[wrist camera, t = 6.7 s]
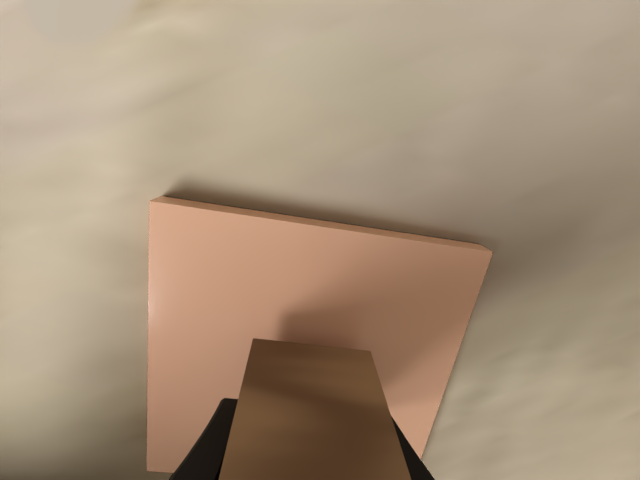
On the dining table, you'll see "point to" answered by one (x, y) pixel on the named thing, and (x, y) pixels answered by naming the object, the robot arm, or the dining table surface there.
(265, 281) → the terracotta tile
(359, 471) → the walnut block
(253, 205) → the dining table surface
